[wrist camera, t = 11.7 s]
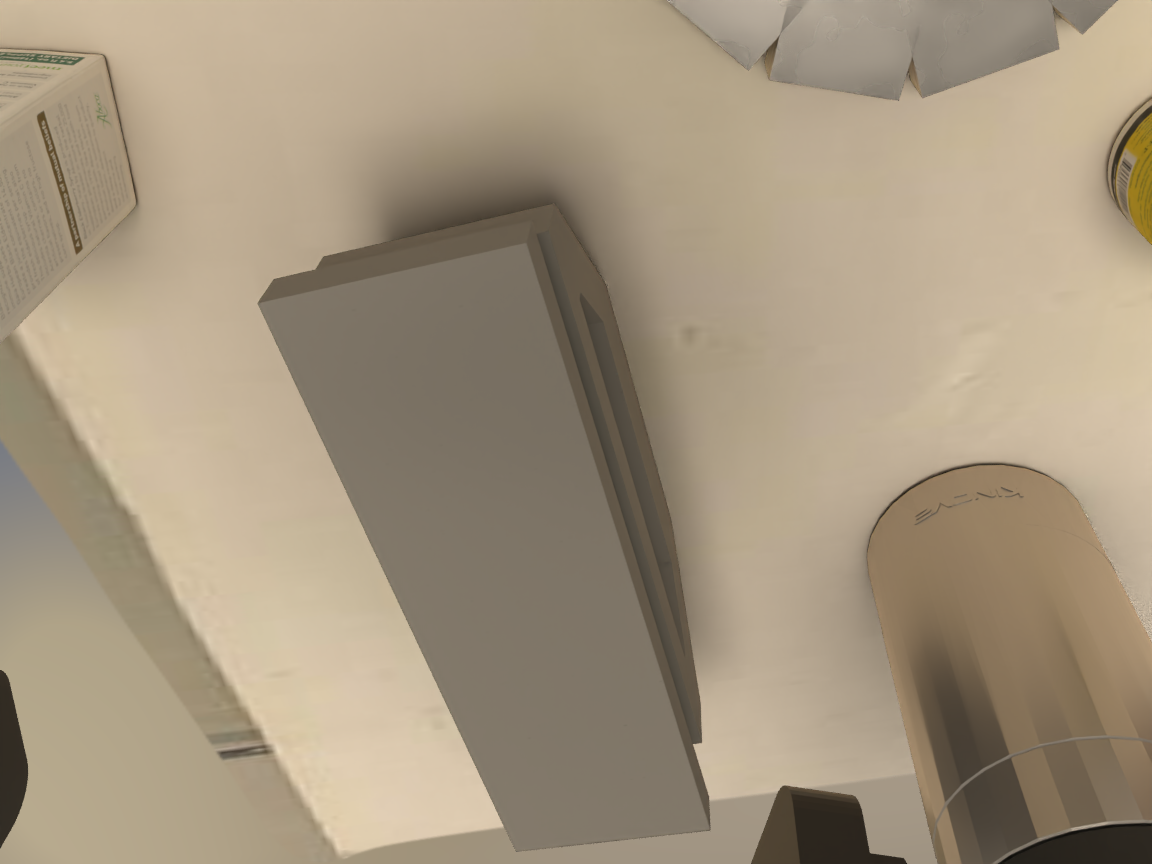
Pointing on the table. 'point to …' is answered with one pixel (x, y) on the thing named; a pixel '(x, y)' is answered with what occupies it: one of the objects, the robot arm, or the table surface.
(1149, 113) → the supplement bottle
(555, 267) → the grey angular block
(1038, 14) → the grey segmented ring
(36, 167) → the syrup box
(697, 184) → the table surface
